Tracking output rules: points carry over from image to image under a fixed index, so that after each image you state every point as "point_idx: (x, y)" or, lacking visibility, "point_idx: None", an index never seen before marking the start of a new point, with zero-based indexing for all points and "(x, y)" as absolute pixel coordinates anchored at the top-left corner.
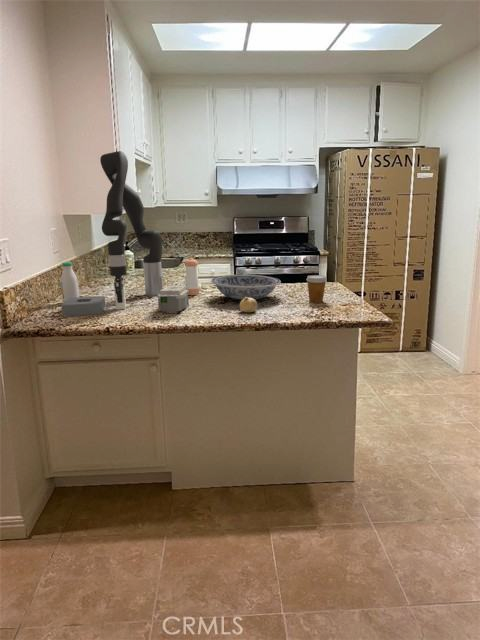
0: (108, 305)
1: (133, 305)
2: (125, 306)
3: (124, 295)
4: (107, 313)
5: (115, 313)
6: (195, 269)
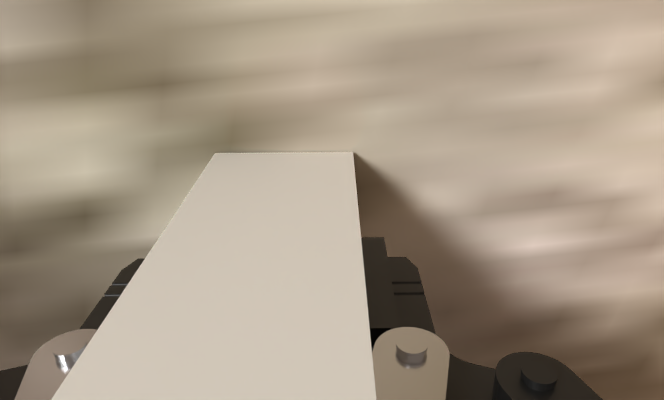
0: None
1: (84, 43)
2: (293, 162)
3: (286, 261)
4: (546, 344)
5: (587, 254)
6: None
